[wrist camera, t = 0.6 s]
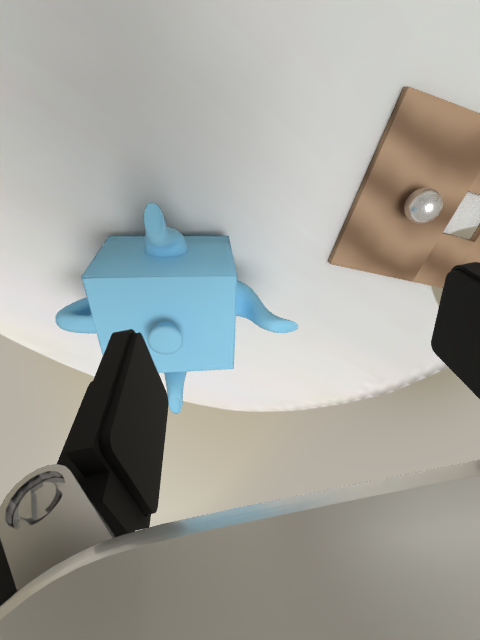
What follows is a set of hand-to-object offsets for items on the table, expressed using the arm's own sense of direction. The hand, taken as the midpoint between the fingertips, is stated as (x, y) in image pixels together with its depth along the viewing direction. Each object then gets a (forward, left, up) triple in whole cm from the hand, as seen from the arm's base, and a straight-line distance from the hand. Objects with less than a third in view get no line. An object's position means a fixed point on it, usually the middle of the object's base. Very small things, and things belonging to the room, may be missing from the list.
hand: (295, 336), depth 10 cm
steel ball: (-2, +23, -29) cm, 37 cm away
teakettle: (+14, -3, -32) cm, 35 cm away
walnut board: (-2, +27, -32) cm, 42 cm away
